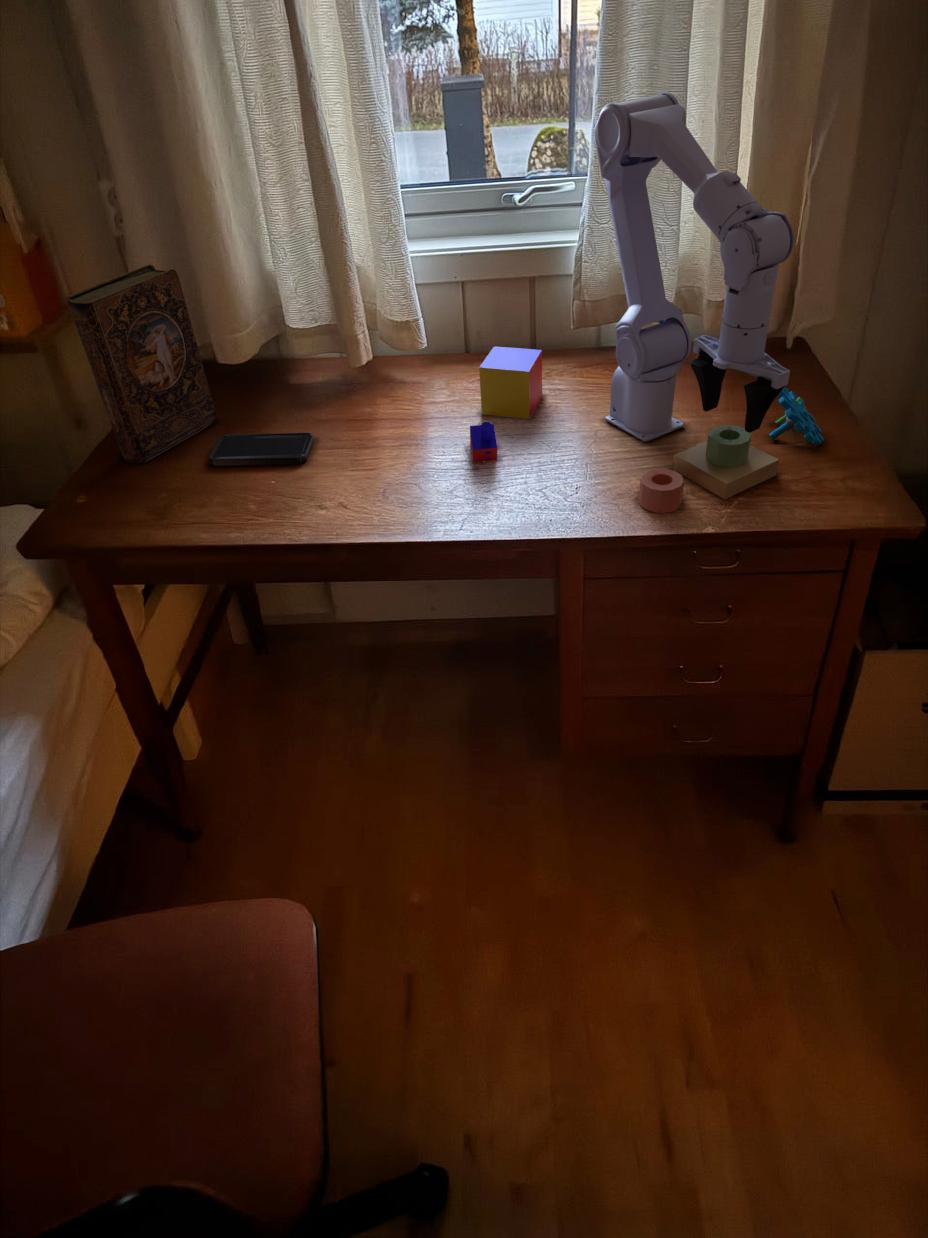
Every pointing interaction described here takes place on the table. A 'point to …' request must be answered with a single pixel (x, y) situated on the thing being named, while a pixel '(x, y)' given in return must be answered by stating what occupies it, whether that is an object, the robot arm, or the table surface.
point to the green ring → (728, 446)
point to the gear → (797, 418)
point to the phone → (262, 449)
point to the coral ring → (661, 490)
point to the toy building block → (483, 442)
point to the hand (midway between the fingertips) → (730, 418)
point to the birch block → (725, 470)
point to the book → (144, 360)
